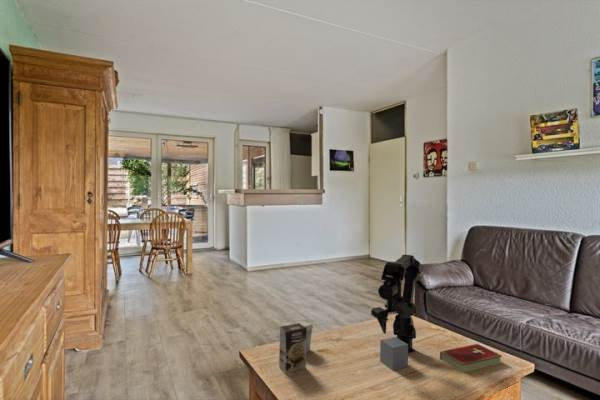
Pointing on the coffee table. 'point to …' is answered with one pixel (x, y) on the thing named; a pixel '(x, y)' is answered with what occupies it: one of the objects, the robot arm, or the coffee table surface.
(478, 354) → the hardcover book
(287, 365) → the coffee box
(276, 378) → the coffee table surface
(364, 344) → the coffee table surface
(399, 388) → the coffee table surface
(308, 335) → the coffee cup
